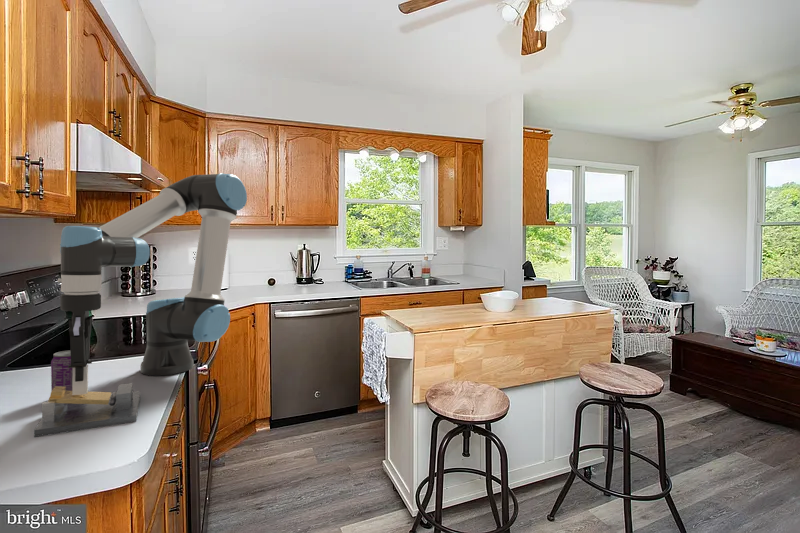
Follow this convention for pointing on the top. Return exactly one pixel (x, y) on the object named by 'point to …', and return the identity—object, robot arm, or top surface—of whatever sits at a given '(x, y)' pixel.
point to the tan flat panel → (81, 397)
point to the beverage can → (61, 370)
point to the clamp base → (88, 413)
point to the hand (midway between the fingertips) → (80, 393)
